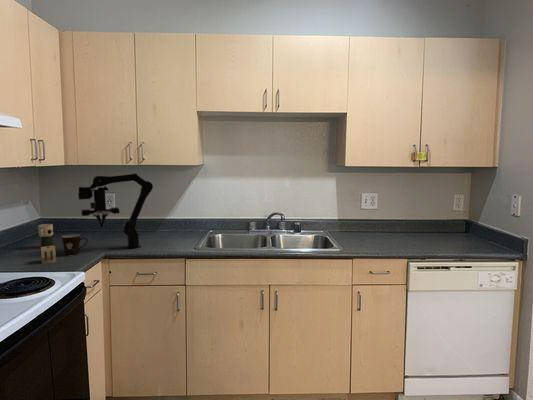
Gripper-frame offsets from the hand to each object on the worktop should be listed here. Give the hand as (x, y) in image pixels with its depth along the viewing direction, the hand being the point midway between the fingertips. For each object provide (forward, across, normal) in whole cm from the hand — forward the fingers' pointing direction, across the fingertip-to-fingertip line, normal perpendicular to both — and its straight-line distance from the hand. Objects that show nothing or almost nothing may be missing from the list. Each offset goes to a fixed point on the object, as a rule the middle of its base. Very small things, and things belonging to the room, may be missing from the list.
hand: (101, 226), depth 209 cm
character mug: (+13, +27, -24) cm, 38 cm away
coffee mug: (+13, +14, +2) cm, 19 cm away
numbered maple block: (+13, +26, +10) cm, 31 cm away
